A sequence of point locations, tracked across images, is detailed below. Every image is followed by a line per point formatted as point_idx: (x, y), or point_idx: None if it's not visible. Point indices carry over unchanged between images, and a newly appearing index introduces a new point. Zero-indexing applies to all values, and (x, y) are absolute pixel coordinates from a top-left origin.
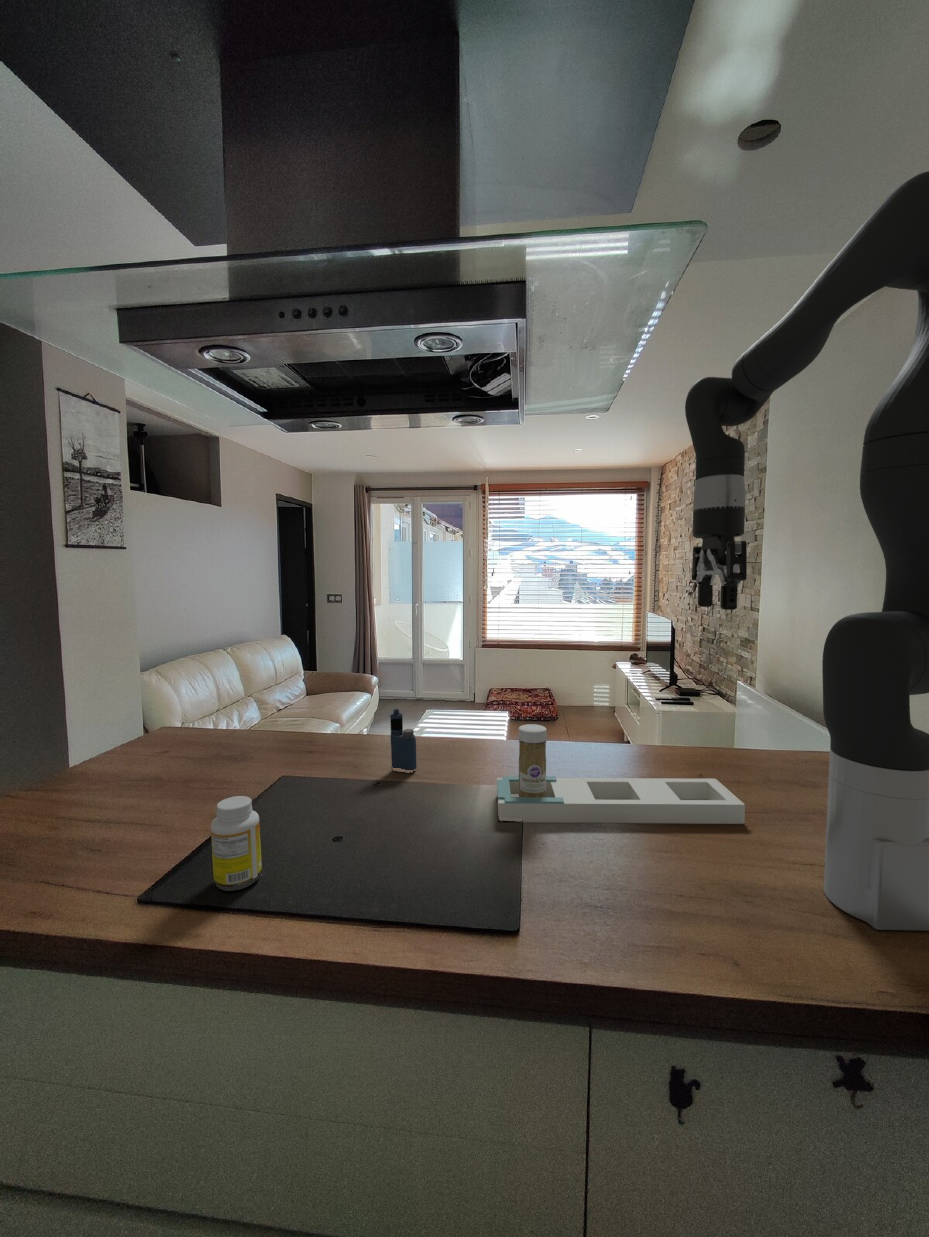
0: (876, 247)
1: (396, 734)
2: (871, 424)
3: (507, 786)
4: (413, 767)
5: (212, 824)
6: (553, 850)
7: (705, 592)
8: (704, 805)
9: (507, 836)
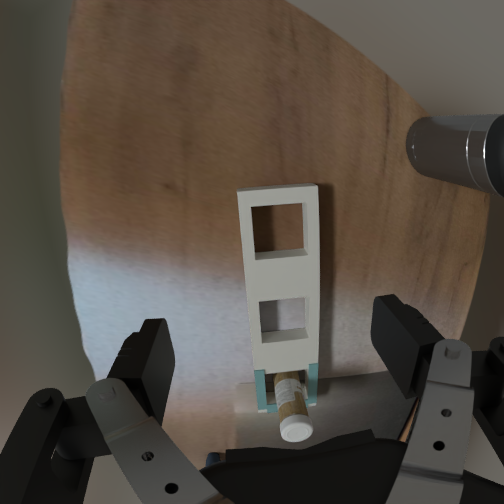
0: None
1: None
2: None
3: None
4: (217, 456)
5: None
6: (358, 356)
7: (159, 381)
8: (318, 231)
9: (335, 385)
